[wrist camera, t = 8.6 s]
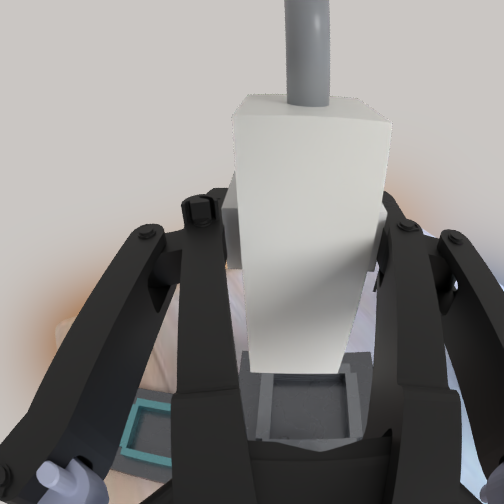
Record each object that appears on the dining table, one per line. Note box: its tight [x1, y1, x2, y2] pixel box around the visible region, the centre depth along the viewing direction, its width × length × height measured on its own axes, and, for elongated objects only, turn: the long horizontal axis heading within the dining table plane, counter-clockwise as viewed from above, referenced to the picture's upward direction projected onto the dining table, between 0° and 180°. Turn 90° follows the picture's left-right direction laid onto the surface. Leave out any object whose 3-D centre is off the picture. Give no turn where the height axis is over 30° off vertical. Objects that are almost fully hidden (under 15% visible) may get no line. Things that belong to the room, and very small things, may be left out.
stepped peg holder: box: [110, 351, 373, 484], centre depth 27 cm, size 13×28×13 cm, turn 85°
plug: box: [232, 0, 393, 374], centre depth 12 cm, size 5×4×17 cm
